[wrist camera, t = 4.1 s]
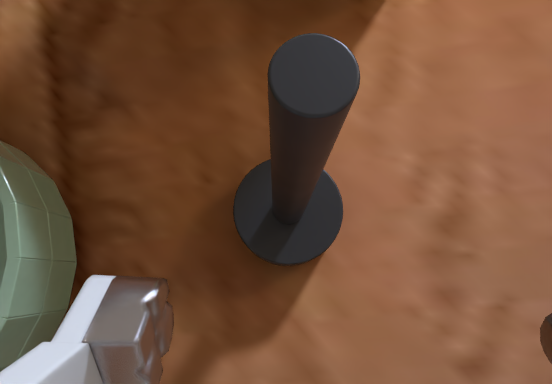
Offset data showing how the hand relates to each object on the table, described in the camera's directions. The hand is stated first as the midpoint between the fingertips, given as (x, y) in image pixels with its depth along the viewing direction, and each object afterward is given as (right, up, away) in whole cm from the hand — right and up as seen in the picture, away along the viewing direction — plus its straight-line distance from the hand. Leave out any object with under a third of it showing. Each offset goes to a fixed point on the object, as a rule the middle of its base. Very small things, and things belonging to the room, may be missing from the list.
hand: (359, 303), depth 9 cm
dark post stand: (-1, +1, +14) cm, 14 cm away
